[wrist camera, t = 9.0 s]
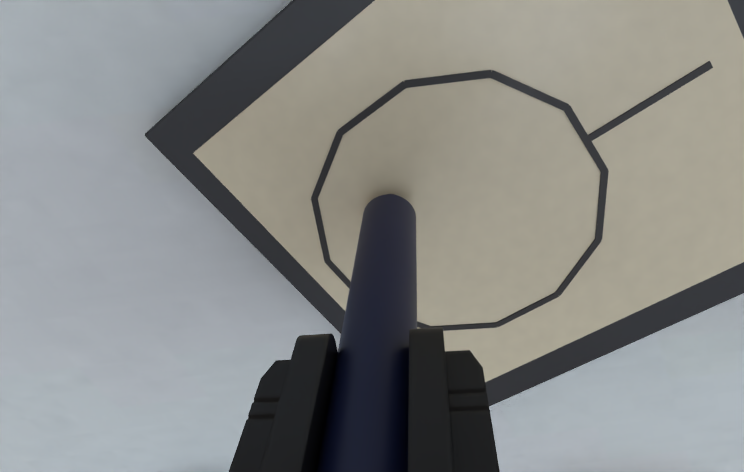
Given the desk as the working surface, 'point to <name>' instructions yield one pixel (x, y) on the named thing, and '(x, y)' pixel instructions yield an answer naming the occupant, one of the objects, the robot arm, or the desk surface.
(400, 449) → the pen
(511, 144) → the sketch pad
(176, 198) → the desk surface
